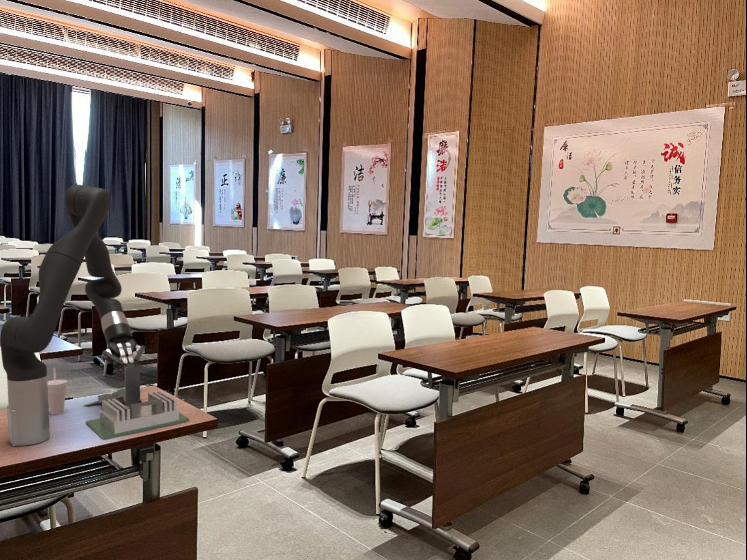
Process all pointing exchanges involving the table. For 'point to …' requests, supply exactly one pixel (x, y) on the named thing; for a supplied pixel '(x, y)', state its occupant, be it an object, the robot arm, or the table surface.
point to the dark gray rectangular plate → (132, 385)
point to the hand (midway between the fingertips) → (131, 375)
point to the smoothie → (56, 395)
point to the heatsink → (136, 416)
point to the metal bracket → (110, 396)
